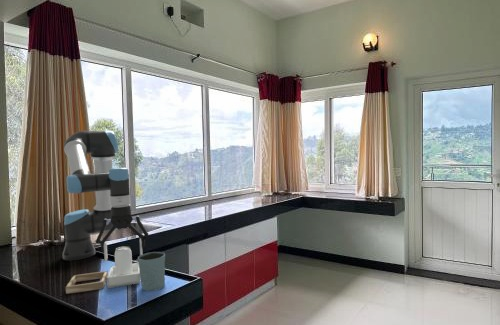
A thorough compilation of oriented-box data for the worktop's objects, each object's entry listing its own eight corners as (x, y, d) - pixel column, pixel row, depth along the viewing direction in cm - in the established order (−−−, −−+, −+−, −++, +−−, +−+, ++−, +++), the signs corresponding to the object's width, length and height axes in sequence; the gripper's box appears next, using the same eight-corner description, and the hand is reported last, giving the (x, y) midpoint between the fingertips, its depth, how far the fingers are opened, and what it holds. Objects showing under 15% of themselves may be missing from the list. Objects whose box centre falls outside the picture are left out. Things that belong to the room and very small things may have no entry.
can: (134, 273, 140) (133, 245, 140) (129, 279, 134) (128, 250, 133) (119, 274, 140) (117, 246, 140) (113, 280, 133) (111, 251, 133)
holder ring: (74, 281, 138) (73, 275, 137) (108, 276, 141) (107, 270, 141) (66, 294, 125) (65, 287, 125) (103, 288, 129) (103, 282, 129)
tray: (111, 275, 142) (111, 266, 142) (141, 271, 145) (140, 262, 145) (107, 288, 129) (106, 278, 128) (140, 283, 132) (139, 273, 132)
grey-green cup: (140, 294, 122) (138, 261, 121) (138, 284, 131) (136, 254, 131) (168, 288, 126) (167, 256, 125) (164, 279, 135) (162, 249, 135)
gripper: (85, 210, 129) (89, 264, 130) (152, 204, 136) (155, 255, 137) (89, 207, 136) (92, 258, 137) (152, 201, 143) (155, 250, 144)
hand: (124, 257), depth 137 cm, fingers open, 13 cm apart
